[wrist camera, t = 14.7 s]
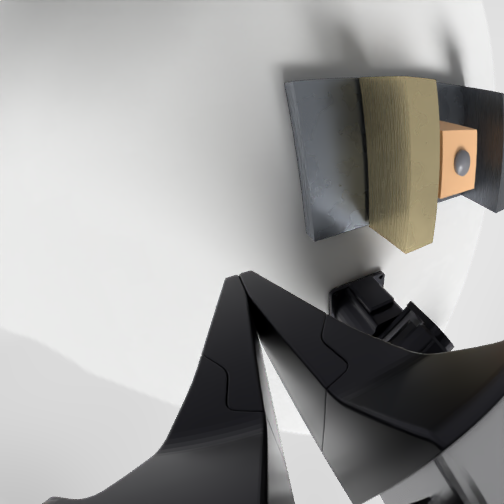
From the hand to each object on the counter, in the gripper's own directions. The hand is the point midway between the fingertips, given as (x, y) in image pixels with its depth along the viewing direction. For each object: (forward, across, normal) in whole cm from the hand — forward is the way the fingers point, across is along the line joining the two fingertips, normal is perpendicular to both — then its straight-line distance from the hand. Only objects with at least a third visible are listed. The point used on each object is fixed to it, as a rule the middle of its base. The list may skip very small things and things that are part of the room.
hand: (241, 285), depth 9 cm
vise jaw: (+10, -13, 0) cm, 17 cm away
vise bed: (+12, -18, 0) cm, 22 cm away
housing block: (+10, -18, 0) cm, 21 cm away
